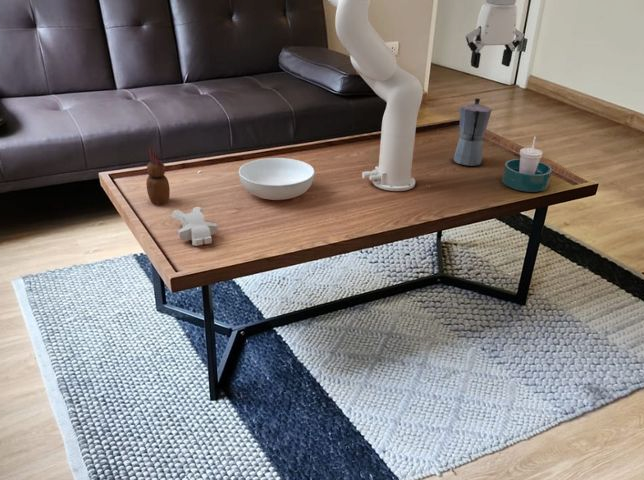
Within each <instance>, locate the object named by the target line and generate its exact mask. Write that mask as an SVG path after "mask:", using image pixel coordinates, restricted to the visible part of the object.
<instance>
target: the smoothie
mask: <svg viewBox="0 0 644 480" xmlns="http://www.w3.org/2000/svg"><path fill="white" fill-rule="evenodd" d="M536 139H537V136H536V135H534V136H533V139H532V144H531V147H523V148H520V150H519V155H520V156H519V159H520V167H519V172H520V173H523V174H530V175H535V172H536V169H537V166H538V163H539V161H540V160H541V158H542V157H543V153H544V152H543V150H540V149H537V148H535V143H536ZM540 162H541V161H540Z"/></svg>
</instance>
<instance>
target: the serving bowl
mask: <svg viewBox="0 0 644 480" xmlns="http://www.w3.org/2000/svg"><path fill="white" fill-rule="evenodd" d="M315 172H316V171H315V169H314V167H313V166H312V165H310V164H309V163H308V162H306V161H302V160H298V159H294V158H287V157H267V158H259V159H254V160H250V161H248V162H245V163H244V164H242V165H241V166H240V167H239V169H238V176H239V181H240V183H241V185H242V187H243V188H244V189H245V190H246V191H247V192H248V193H249V194H251V195H252V196H255V197H257V198H259V199H264V200H271V201H283V200H290V199H294V198H297V197H299V196H301V195H303V194H304V193H306V192H307V191H308V190H309V189H310V187H311V186H312V184H313V181H314V179H315V174H316V173H315Z"/></svg>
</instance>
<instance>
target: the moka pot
mask: <svg viewBox="0 0 644 480" xmlns="http://www.w3.org/2000/svg"><path fill="white" fill-rule="evenodd" d="M480 102H481V99H480V98H474V102H473V103H464V104H462V105H460V106H459V138H458V142H457V146H456V148H455V152H454V155H453V162H454V163H456V164H458V165H462V166H467V167H474V166H479V165H481V164H482V161H483V139H484V134H485V133H486V131H487V128H488V125H489V121H490V117H491V114H492V111H493V110H492V108H491V107H489V106H487V105H485V104H481V103H480Z"/></svg>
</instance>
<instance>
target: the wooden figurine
mask: <svg viewBox="0 0 644 480" xmlns="http://www.w3.org/2000/svg"><path fill="white" fill-rule="evenodd" d="M149 159H150V160H149V162H148V163H147V165H146V173H147V175H148V177H147V178H146V191H147V196H148V198H149V200H150V202H151V203H152V204H153V205H157V206H158V205H164V204H166V203H168V201H169V199H170V195H171V193H170V192H171V191H170V190H171V189H170V183H169V180H168V178H167V176H166V175H165V173H166V166H165V164H164V163H163V162H162V161H160V159H159V157H158V155H157V154H156V153H155V149H152V147H151V145H150V146H149Z"/></svg>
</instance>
